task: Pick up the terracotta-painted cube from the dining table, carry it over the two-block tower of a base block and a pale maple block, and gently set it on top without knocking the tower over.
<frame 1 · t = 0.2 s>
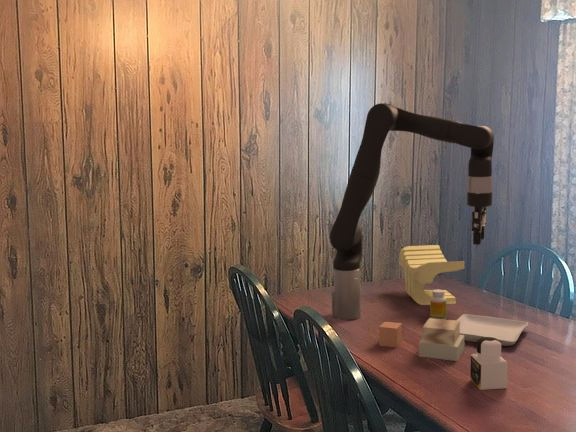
hand: (478, 241, 209), 29 cm above the table, fingers open, 8 cm apart
top block: (441, 338, 194), point 4 cm above the table, touching base block
base block: (441, 353, 194), on the table, touching top block
cube: (390, 343, 203), on the table
supplement bottle: (438, 319, 226), on the table
salad plate: (487, 336, 208), on the table
slatted curved stool: (429, 300, 249), on the table
medicine bottle: (488, 384, 171), on the table
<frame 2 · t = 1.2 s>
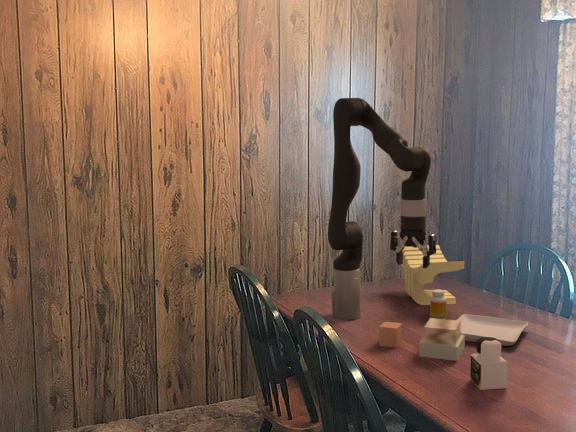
hand: (412, 266, 202), 23 cm above the table, fingers open, 8 cm apart
nothing on the table moved.
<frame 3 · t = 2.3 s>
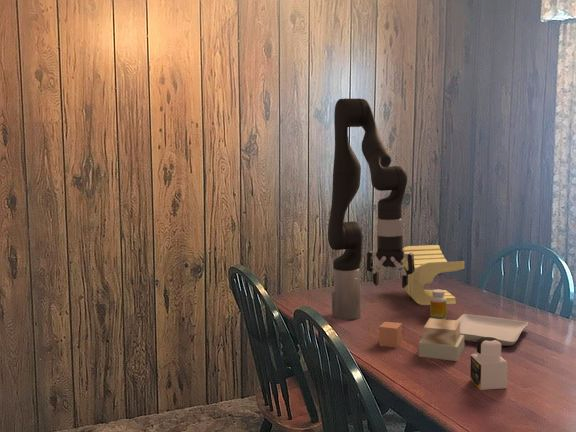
hand: (390, 286, 200), 18 cm above the table, fingers open, 8 cm apart
nothing on the table moved.
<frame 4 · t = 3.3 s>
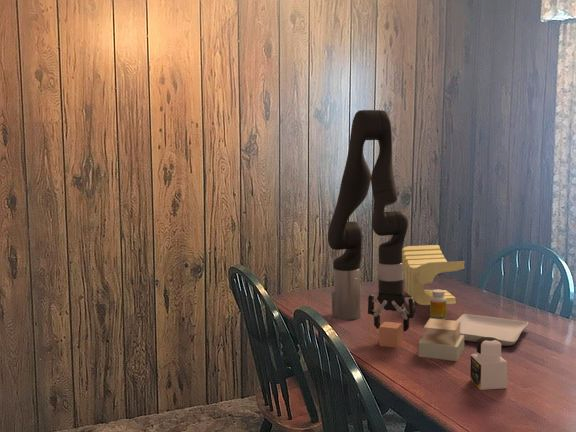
hand: (391, 329, 202), 5 cm above the table, fingers open, 8 cm apart
nothing on the table moved.
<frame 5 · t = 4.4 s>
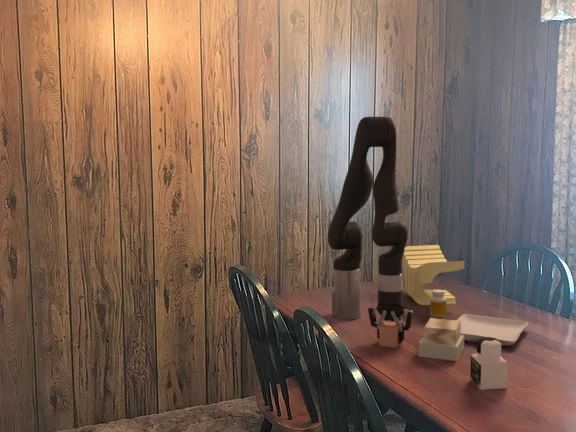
hand: (390, 341, 203), 1 cm above the table, fingers closed on cube, 5 cm apart
cube: (390, 343, 203), on the table, touching gripper
everything else where it was.
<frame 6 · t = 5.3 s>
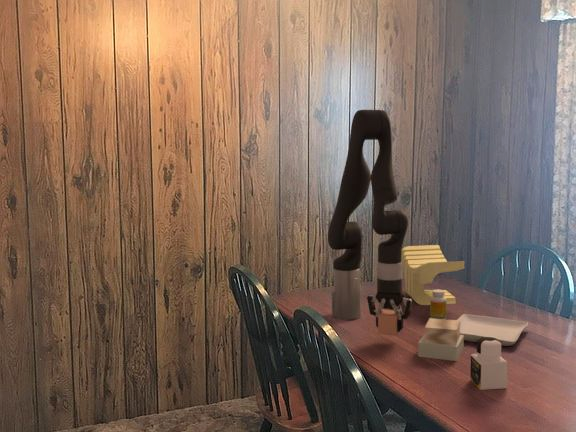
hand: (389, 329, 203), 4 cm above the table, fingers closed on cube, 5 cm apart
cube: (389, 332, 203), point 4 cm above the table, touching gripper
everything else where it was.
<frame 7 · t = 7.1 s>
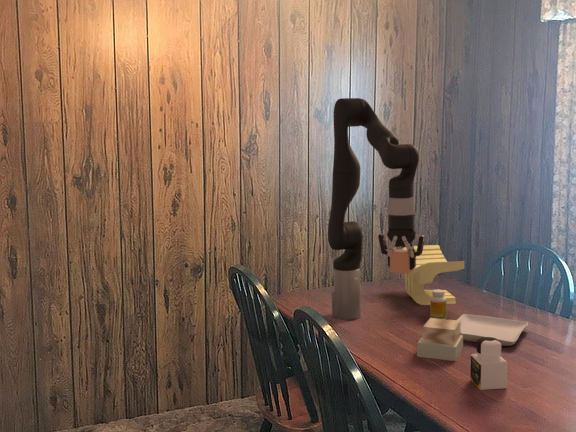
hand: (401, 268, 197), 24 cm above the table, fingers closed on cube, 5 cm apart
top block: (442, 338, 194), point 4 cm above the table
base block: (440, 353, 194), on the table
cube: (401, 271, 197), point 23 cm above the table, touching gripper
everything else where it was.
when the fingers open (10 cm above the table, at t = 12.5 s): cube moves 2 cm, point 9 cm above the table.
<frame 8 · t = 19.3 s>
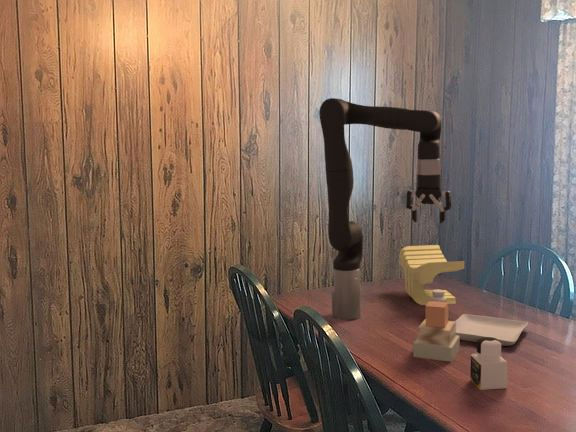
hand: (428, 222, 217), 34 cm above the table, fingers open, 8 cm apart
top block: (437, 339, 193), point 4 cm above the table, touching base block
base block: (436, 354, 194), on the table, touching top block
cube: (437, 324, 193), point 9 cm above the table
everything else where it was.
at the end: cube 0.2 cm off-centre on the top block, point 4.5 cm above the top block's base; cube tilted 1°; top block 0.1 cm off-centre on the base block, point 4.5 cm above the base block's base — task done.
